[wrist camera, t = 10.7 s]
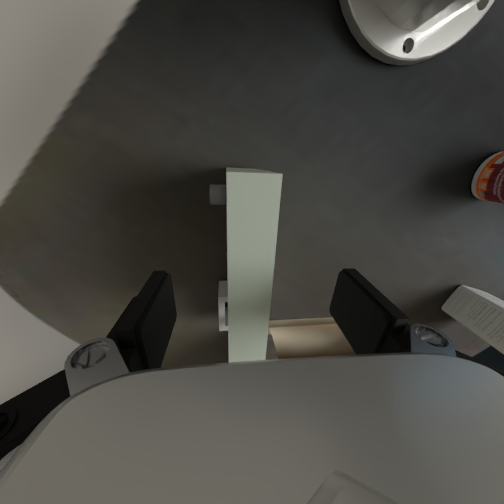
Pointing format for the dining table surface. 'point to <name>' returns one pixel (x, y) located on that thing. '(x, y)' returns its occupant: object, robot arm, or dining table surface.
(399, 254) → the dining table surface
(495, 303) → the skincare box
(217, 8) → the dining table surface
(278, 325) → the cabinet
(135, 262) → the dining table surface
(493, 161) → the pill bottle
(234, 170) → the door
